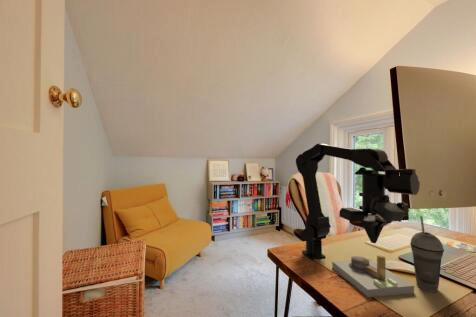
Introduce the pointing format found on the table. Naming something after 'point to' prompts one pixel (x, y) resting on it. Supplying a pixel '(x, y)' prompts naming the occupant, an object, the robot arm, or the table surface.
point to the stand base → (373, 280)
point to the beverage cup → (427, 259)
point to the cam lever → (363, 264)
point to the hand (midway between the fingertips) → (373, 242)
